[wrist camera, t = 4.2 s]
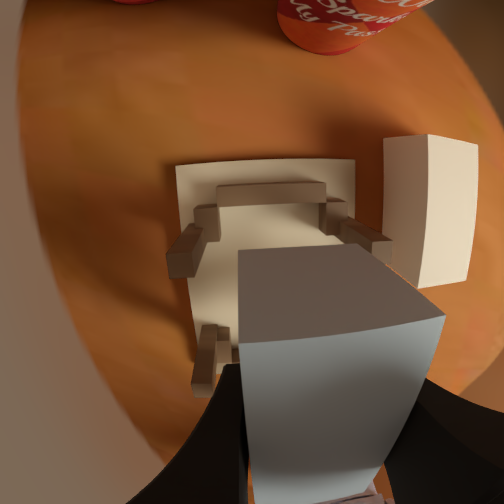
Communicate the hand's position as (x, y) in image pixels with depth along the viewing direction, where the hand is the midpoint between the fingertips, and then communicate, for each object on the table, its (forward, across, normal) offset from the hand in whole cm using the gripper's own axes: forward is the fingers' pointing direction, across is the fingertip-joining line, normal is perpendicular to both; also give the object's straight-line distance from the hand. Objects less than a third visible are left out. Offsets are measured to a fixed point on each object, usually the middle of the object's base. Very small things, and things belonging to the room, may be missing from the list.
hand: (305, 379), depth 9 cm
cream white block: (+10, -9, -5) cm, 14 cm away
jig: (+9, 0, 0) cm, 9 cm away
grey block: (+2, 0, 0) cm, 2 cm away
